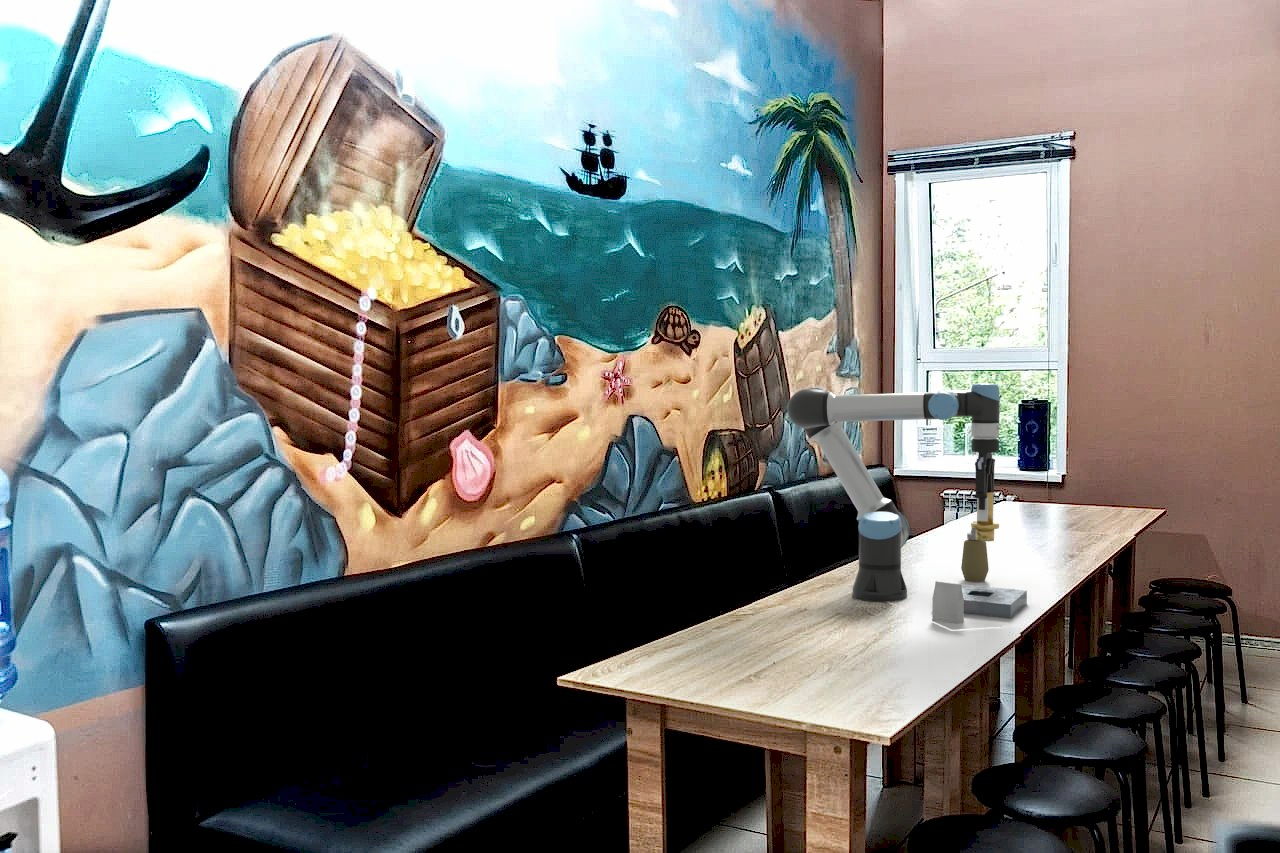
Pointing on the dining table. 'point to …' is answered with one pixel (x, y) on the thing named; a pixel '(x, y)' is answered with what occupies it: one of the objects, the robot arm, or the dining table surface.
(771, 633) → the dining table surface
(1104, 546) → the dining table surface
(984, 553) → the squeeze bottle
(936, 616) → the tea bag
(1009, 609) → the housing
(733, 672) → the dining table surface
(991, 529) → the brass door knob
